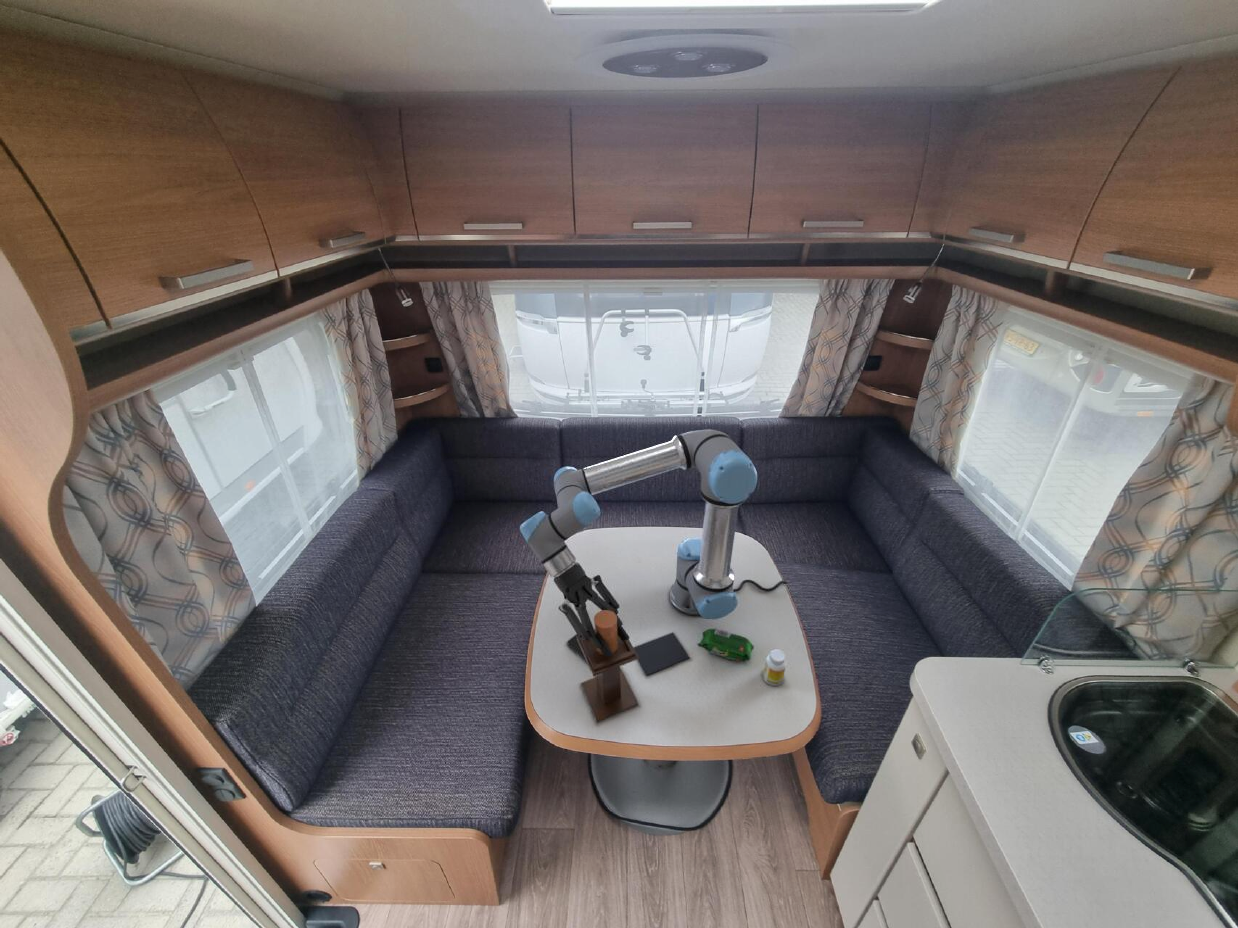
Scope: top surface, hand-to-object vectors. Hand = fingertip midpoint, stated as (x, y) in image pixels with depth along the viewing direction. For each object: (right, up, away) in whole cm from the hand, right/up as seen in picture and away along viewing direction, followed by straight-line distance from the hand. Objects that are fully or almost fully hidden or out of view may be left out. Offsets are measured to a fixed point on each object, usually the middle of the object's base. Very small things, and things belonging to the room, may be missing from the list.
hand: (617, 647), depth 120 cm
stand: (-2, -18, +13) cm, 23 cm away
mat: (+13, -11, +25) cm, 30 cm away
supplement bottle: (+43, -15, +17) cm, 49 cm away
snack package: (+32, -11, +25) cm, 42 cm away
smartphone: (-8, -11, +26) cm, 29 cm away
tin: (-3, -1, +3) cm, 4 cm away
